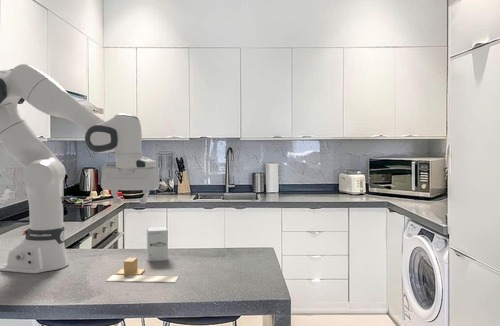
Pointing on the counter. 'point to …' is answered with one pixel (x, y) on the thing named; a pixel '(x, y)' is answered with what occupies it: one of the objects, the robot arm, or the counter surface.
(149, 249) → the supplement box
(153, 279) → the board
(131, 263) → the stepped wooden block
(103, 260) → the counter surface
